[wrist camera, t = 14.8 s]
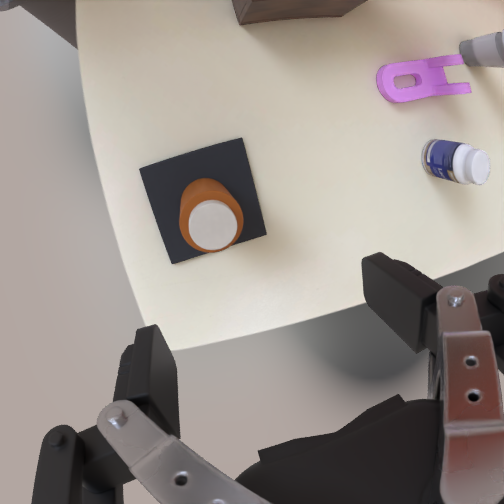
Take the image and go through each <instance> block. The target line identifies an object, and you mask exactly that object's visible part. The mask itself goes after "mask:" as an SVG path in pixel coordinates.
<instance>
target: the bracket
mask: <svg viewBox="0 0 504 504" xmlns="http://www.w3.org/2000/svg"><path fill="white" fill-rule="evenodd" d="M459 64H464V62H463V59H462V56H461V54H456V55H447V56H440V57H435V58H429V59H424V60H415V61H406V62H399V63H392V64H388V65H384V66H382V67H381V68H380V69H379V71H378V73H377V86H378V89H379V91H380V93H381V94H382V95H383V97H384V98H385V99H387V100H388V101H390V102H393V103H400V102H407V101H411V100H416V99H420V98H425V97H429V96H435V95H455V94H466V93H471V88H470V84H469V83H452V84H448V83H447V80H446V76H445V73H444V69H443V66H451V65H459ZM407 74H412V75H413V76H414V77H415V79H416V84H415V86H412V87H406V88H401V89H398V88H396V87H395V85H394V82H393V80H394V78H395V77H396V76H401V75H407Z"/></svg>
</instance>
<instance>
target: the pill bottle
mask: <svg viewBox="0 0 504 504" xmlns="http://www.w3.org/2000/svg"><path fill="white" fill-rule="evenodd" d="M422 162H423V166H424V168H425V170H426V171H427V173H428V174H430V175H432V176H435V177H439V178H443V179H446V180H450V181H454V182H457V183H461V184H470V183H473V184H477V185H482V184H484V183H485V182H486V181H487V179H488V177H489V173H490V160H489V156H488V154H487V153H486V152H485V151H483V150H480V149H474V148H473V147H472V146H471V145H469V144H465V143H459V142H452V141H445V140H438V139H434V140H430V141H429V142H428V143H427V144H426V145H425V147H424V149H423V153H422Z"/></svg>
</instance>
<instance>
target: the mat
mask: <svg viewBox="0 0 504 504" xmlns="http://www.w3.org/2000/svg"><path fill="white" fill-rule="evenodd" d="M139 170H140V173H141V176H142V180H143V183H144V186H145V189H146V192H147V195H148V198H149V201H150V204H151V207H152V210H153V213H154V216H155V219H156V222H157V225H158V227H159V230H160V233H161V236H162V239H163V241H164V244H165V247H166V250H167V252H168V255H169V258H170V260H171V263H172V264H175V263H178V262H181V261H184V260H187V259H190V258H194V257H197V256H200V255H203V254H206V253H209V252H203V251H199V250H197V249H195V248H193V247H192V246H191V245H189V244H188V243H187V242H186V240H185V239H184V237H183V236H182V233H181V230H180V225H179V219H180V206H181V197H182V194H183V192H184V190H185V188H186V187H187V186H188V185H189V184H190V183H192V182H193V181H195V180H198V179H201V178H210V179H214V180H216V181H218V182H220V183H221V184H222V185H223V186H224V187H225V188H226V189H227V190H228V192H229V193H230V194H231V195H232V196H233V198H234V199H235V200H236V201H237V203H238V204H239V206H240V208H241V210H242V213H243V228H242V231H241V233H240V236H239V237H238V239H237V240H236V241H235V242H234V243H233V244H232V245H235V244H238V243H241V242H245V241H248V240H251V239H254V238H257V237H261V236H264V235H267V234H266V230H265V226H264V221H263V217H262V213H261V209H260V205H259V202H258V198H257V194H256V190H255V186H254V182H253V178H252V174H251V170H250V166H249V162H248V158H247V155H246V151H245V147H244V143H243V139H242V138H238V139H234V140H230V141H227V142H223V143H219V144H216V145H212V146H209V147H205V148H202V149H198V150H195V151H192V152H189V153H185V154H182V155H179V156H176V157H173V158H170V159H166V160H163V161H160V162H157V163H155V164H152V165H149V166H146V167H143V168H140V169H139ZM232 245H231V246H232Z"/></svg>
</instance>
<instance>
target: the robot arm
mask: <svg viewBox="0 0 504 504" xmlns="http://www.w3.org/2000/svg"><path fill="white" fill-rule="evenodd" d="M362 277H363V291H364V297H365V300H366V302H367V304H368V306H369V307H370V308H371V309H372V310H373V311H374V312H375V313H376V314H377V315H378V316H379V317H380V318H381V319H382V320H384V322H385V323H386V324H387V325H388V326H389V327H390V328H391V329H392V330H394V332H396V334H397V335H398V336H399V337H400V338H401V339H402V340H403V341H405V343H406V344H407V345H408V346H409V347H410V348H411V349H412V350H413V351H414V352H415V353H416V354H417V353H419V352H420V351H422V350H424V349H426V348H428V349H429V350H430V352H429V368H428V369H429V370H428V393H427V399H418V400H411V401H407V402H405V401H404V400H403V399H402V397H401V396H400V395H399V394H397V395H396V396H393V397H391V398H389V399H387V400H386V401H383V402H382V403H380V404H377V405H375V406H373V407H371V408H369V409H367V410H366V411H365V412H363V413H362V414H361V415H359V416H358V417H357V418H355V419H354V420H353V421H351V422H350V423H348V424H347V425H346V426H344V427H343V428H341V429H340V430H338V431H337V432H334V433H329V434H324V435H318V436H311V437H305V438H298V439H293V440H290V441H287V442H284V443H281V444H278V445H275V446H272V447H269V448H265V449H262V450H258V454H259V457H260V461H259V462H257V463H255V464H253V465H252V466H250V467H249V468H248V469H246V470H245V471H244V472H242V473H241V474H240V475H239V476H238V477H237V478H236V479H235V480H233V479H232V478H230V477H229V476H227V475H226V474H224V473H223V472H221V471H220V470H219V469H217V468H216V467H214V466H213V465H212V464H210V463H209V462H207V461H206V460H205V459H203V458H202V457H201V456H199V455H198V454H197V453H195V452H194V451H193V450H192V449H190V448H189V447H188V446H186V445H185V444H184V443H183V442H181V441H180V440H179V439H180V424H179V406H178V385H177V384H178V383H177V368H176V364H175V360H174V357H173V356H172V353H171V351H170V349H169V347H168V345H167V343H166V341H165V339H164V337H163V335H162V333H161V331H160V329H159V327H158V326H157V325H156V324H154V325H151V326H147V327H144V328H140V329H137V331H136V336H135V341H134V344H132V345H128V346H127V348H126V350H125V351H124V353H123V354H122V356H121V360H120V367H119V370H118V376H117V381H116V386H115V392H114V398H113V402H112V403H110V404H109V405H107V406H106V407H105V408H104V409H103V410H102V411H101V412H100V414H99V416H98V418H97V425H95V426H93V427H91V428H88V429H86V430H84V431H81V432H79V433H77V432H75V430H74V429H73V428H72V427H70V426H68V425H59V426H56V427H54V428H53V429H51V430H50V431H49V432H48V433H47V434H46V435H45V437H44V439H43V442H42V446H41V450H40V455H39V460H38V466H37V471H36V476H35V483H34V489H33V496H32V503H31V504H124V501H123V484H125V483H127V482H130V481H132V480H134V479H137V480H138V481H139V482H140V483H141V484H142V485H143V486H144V487H145V488H146V489H147V490H148V492H150V494H151V495H152V496H153V497H154V498H155V499H156V500H157V501H158V502H159V503H160V504H504V412H503V402H502V394H501V387H500V379H499V373H498V369H499V370H500V371H501V372H502V373H503V374H504V274H498V275H495V276H493V277H492V278H491V279H490V280H489V284H488V290H486V291H482V292H479V293H474V294H473V293H472V292H471V291H470V290H469V289H467V288H465V287H461V286H447V287H442V286H441V285H439V284H438V283H436V282H435V281H433V280H432V279H430V278H429V277H427V276H426V275H424V274H422V273H421V272H420V271H418V270H417V269H416V270H415V268H414V267H412V266H411V265H409V264H408V263H406V262H402V261H399V260H395V259H394V260H392V259H391V258H389V257H388V256H386V255H385V254H383V253H381V252H378V253H375V254H373V255H370V256H367V257H364V258H363V259H362Z"/></svg>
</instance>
